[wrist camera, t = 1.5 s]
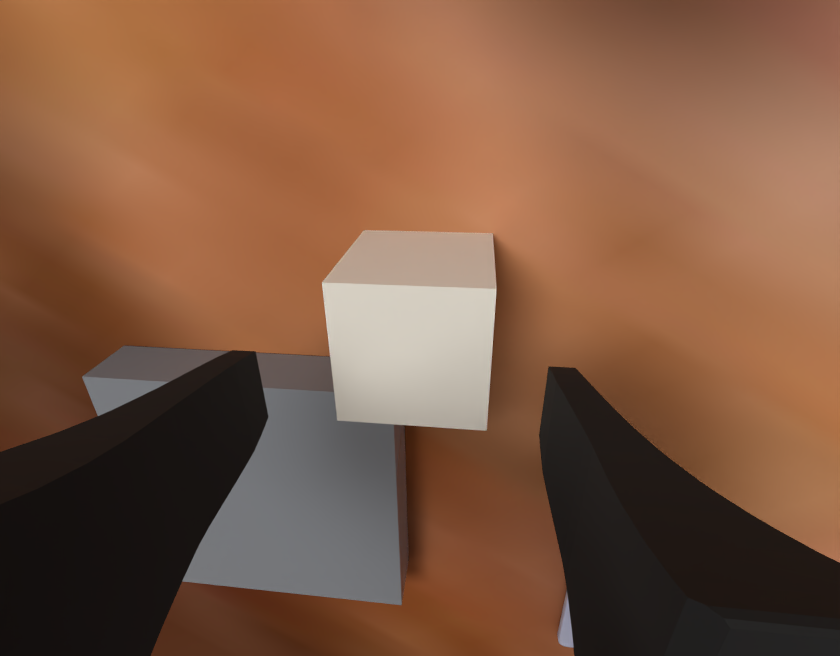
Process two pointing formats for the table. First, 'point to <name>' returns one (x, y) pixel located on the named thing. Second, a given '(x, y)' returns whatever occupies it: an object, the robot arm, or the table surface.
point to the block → (413, 328)
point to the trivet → (292, 483)
